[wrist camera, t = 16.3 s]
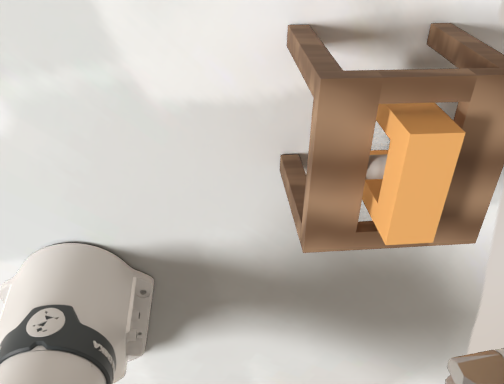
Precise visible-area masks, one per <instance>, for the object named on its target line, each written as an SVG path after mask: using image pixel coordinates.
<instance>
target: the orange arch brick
mask: <svg viewBox="0 0 504 384" xmlns="http://www.w3.org/2000/svg"><path fill="white" fill-rule="evenodd" d="M376 121H377V122H378V123H379V125H380V126H381V128H382V129H383V130H384V132H385V133H386V134H387V136H388V137H389V138H390V145H389V150H374V151H370V155H383V154H388V155H387V160H386V165H385V170H384V175H383V179H369V180H365V184H364V190H363V196H362V200H363V202H364V204H365V206H366V208H367V210H368V212H369V214H370V216H371V218H372V220H373V222H374V224H375V226H376V228H377V230H378V232H379V233H380V235H381V237H382V239H383V241H384V243H385V245H400V244H418V243H433V241H434V238H435V234H436V231H437V227H438V224H439V221H440V217H441V214H442V211H443V207H444V204H445V200H446V197H447V194H448V190H449V187H450V184H451V180H452V177H453V174H454V170H455V167H456V163H457V160H458V157H459V153H460V150H461V147H462V143H463V140H464V136H465V133H466V132H465V131H463V130H462V129H461V128H460V127H459V126H458V125H457V124H456V123H455V122H454V121H453V120H452V119H451V118H450V117H449V116H448V115H447V114H446V113H445V112H444V111H443V110H442V109H441V108H440V107H439V106H438V105H437V104H435V103H397V104H379V105H378V111H377V116H376Z"/></svg>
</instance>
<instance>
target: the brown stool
mask: <svg viewBox="0 0 504 384" xmlns="http://www.w3.org/2000/svg"><path fill="white" fill-rule="evenodd" d="M427 45H428V46H430V47H431V48H432V49H434V50H435V51H436V52H438V53H439V54H440V55H442V56H443V57H444V58H446V59H447V60H448V61H450V62H451V63H452V64H454V65H455V66H456V67H458V68H459V69H411V70H361V71H343V70H342V68H341V67H340V66H339V64H338V63H337V62H336V60H335V59H334V58H333V56H332V55H331V54H330V52H329V51H328V50H327V48H326V47H325V46H324V44H323V43H322V42H321V40H320V39H319V38H318V36H317V35H316V33H315V32H314V31H313V29H312V28H311V27H310V25H288V35H287V48H288V49H289V51H290V53H291V55H292V57H293V59H294V61H295V63H296V65H297V67H298V68H299V70H300V72H301V74H302V76H303V78H304V80H305V82H306V84H307V86H308V87H309V89H310V91H311V93H312V95H313V97H314V100H313V111H312V122H311V132H310V143H309V153H308V164H307V175H306V173H305V171H304V168H303V165H302V162H301V160H300V157H299V154H294V155H281V158H280V173H281V176H282V180H283V184H284V187H285V191H286V194H287V198H288V201H289V205H290V208H291V212H292V215H293V219H294V222H295V226H296V229H297V233H298V236H299V240H300V243H301V247H302V250H303V253H309V252H327V251H345V250H363V249H381V248H399V247H417V246H435V245H453V244H471V243H476V240H477V237H478V234H479V232H480V229H481V226H482V223H483V221H484V218H485V215H486V212H487V210H488V207H489V204H490V201H491V199H492V196H493V193H494V190H495V188H496V185H497V182H498V179H499V177H500V174H501V171H502V168H503V166H504V55H503V54H502V53H500V52H498V51H497V50H495V49H493V48H492V47H490V46H488V45H487V44H485V43H483V42H482V41H480V40H478V39H477V38H475V37H473V36H472V35H470V34H468V33H467V32H465V31H463V30H461V29H460V28H458V27H456V26H455V25H453V24H451V23H431V26H430V31H429V36H428V40H427ZM435 102H458V106H457V109H456V113H455V117H454V120H453V121H454V122H455V123H456V124H457V125H458V126H459V127H460V128H461V129H462V130H463V131H465V132H466V133H465V136H464V140H463V143H462V147H461V150H460V153H459V157H458V160H457V163H456V167H455V170H454V174H453V177H452V180H451V184H450V187H449V190H448V194H447V197H446V200H445V204H444V207H443V211H442V214H441V217H440V221H439V224H438V227H437V231H436V234H435V238H434V241H433V243H418V244H400V245H385V243H384V241H383V239H382V237H381V235H380V233H379V232H378V230H377V228H376V226H375V224H374V222H373V221H363V222H358V218H359V213H360V207H361V201H362V196H363V190H364V184H365V180H369V179H383V175H384V170H385V165H386V160H387V155H388V154H383V155H370V150H371V145H372V139H373V133H374V128H375V122H376V116H377V111H378V105H379V104H397V103H435Z"/></svg>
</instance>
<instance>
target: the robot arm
mask: <svg viewBox="0 0 504 384" xmlns="http://www.w3.org/2000/svg"><path fill="white" fill-rule="evenodd" d="M153 288H154V280H153V278H152V277H151V276H149V275H147V274H145V273H142V272H140V271H137V270H134V269H133V268H131V267H130V266H128V265H127V264H126V263H125V262H124V261H123V260H121V259H120V258H119V257H117V256H116V255H114V254H112V253H111V252H109V251H107V250H104V249H102V248H99V247H96V246H92V245H87V244H80V243H63V244H56V245H52V246H48V247H45V248H42V249H40V250H38V251H36V252H35V253H33V254H32V255H30V256H29V257H28V258H27V259H26V260H25V261H24V262H23V264H22V265H21V267H20V269H19V271H18V272H17V274H16V275H15V276H14V277H12V278H11V279H9V280H7V281H6V282H4V283H3V284H2V285H1V287H0V298H1V300H2V301H3V302H4V306H3V309H2V312H1V315H0V384H112V383H115V382H117V381H119V380H120V379H122V378H123V377H124V376H125V374H126V368H127V362H129V361H132V360H134V359H136V358H139V357H140V356H142V355H143V354H144V351H145V347H146V340H147V332H148V325H149V318H150V310H151V303H152V296H153ZM142 290H145V291H142ZM447 368H448V370H449V372H450V374H451V375H450V376H449V377H448V378H447V379H446V380H445V384H504V348H502V349H497V350H489V351H484V352H479V353H475V354H469V355H464V356H459V357H454V358H451V359H450V360H448V366H447Z"/></svg>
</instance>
